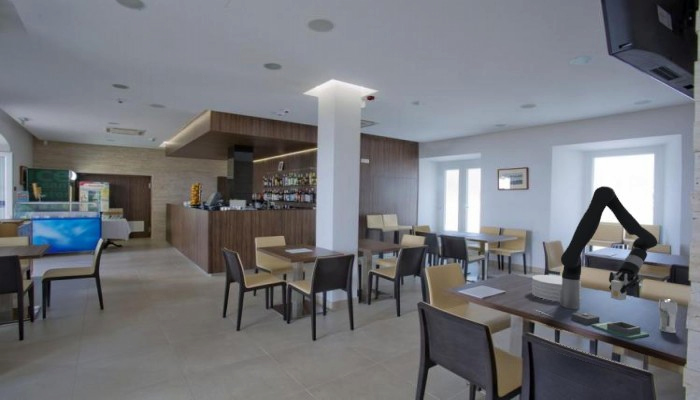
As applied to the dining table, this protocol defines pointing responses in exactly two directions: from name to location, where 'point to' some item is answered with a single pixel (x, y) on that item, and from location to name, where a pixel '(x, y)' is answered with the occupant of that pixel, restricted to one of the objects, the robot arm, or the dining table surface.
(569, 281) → the robot arm
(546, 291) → the plate stack
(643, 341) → the dining table surface
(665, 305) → the beer glass
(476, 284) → the dining table surface
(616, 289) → the plug
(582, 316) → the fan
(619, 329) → the board
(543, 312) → the butter knife
